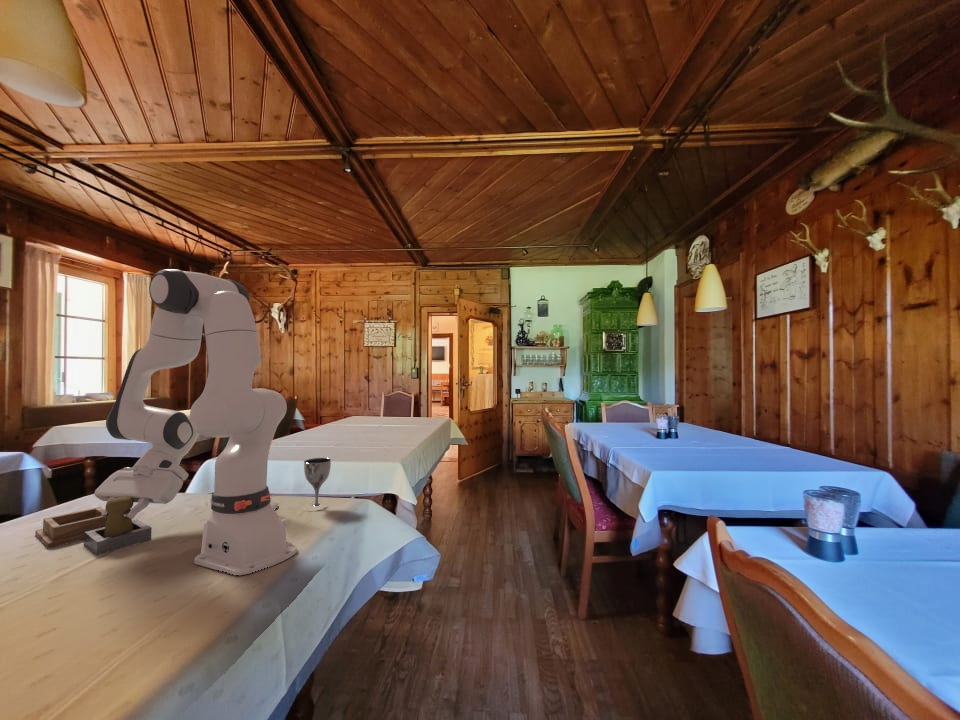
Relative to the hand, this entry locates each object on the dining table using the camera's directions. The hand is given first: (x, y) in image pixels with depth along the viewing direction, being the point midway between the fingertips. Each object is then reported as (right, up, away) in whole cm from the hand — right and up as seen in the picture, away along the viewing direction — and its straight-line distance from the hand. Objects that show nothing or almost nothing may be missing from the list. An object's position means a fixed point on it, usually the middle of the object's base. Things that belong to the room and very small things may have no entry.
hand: (116, 517), depth 97 cm
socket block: (0, -6, 0) cm, 6 cm away
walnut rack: (-16, -6, +6) cm, 18 cm away
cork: (0, -7, 0) cm, 7 cm away
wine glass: (+39, -8, +26) cm, 48 cm away
